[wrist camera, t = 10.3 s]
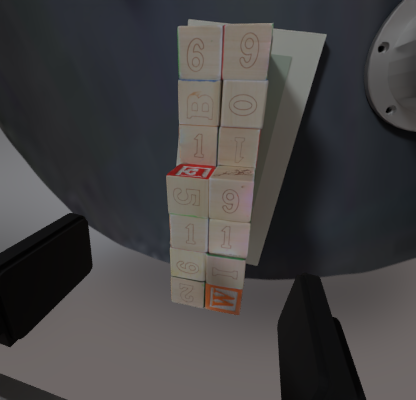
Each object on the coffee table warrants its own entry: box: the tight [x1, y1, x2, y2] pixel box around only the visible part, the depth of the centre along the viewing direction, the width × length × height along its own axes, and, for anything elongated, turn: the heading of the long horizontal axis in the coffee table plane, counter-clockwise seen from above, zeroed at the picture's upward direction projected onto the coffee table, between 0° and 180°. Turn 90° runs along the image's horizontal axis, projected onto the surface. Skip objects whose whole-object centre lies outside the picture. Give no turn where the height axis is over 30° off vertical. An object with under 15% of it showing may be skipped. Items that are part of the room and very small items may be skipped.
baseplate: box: [170, 19, 327, 266], centre depth 27 cm, size 13×27×1 cm, turn 171°
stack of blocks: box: [166, 23, 274, 315], centre depth 21 cm, size 21×6×12 cm, turn 177°
